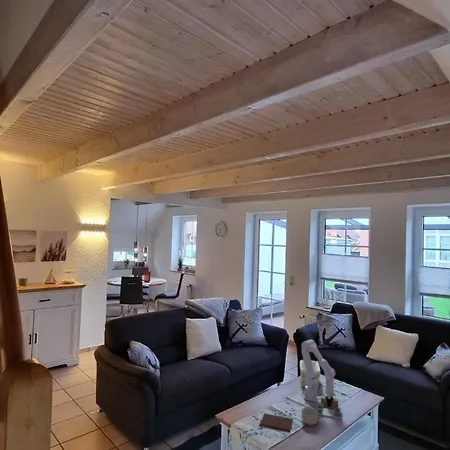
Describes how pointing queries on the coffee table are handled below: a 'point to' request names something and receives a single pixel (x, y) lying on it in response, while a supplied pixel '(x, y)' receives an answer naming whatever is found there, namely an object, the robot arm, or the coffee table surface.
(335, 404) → the tan wooden block
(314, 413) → the teacup
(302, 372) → the storage basket
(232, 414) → the coffee table surface
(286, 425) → the notebook
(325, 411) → the board
